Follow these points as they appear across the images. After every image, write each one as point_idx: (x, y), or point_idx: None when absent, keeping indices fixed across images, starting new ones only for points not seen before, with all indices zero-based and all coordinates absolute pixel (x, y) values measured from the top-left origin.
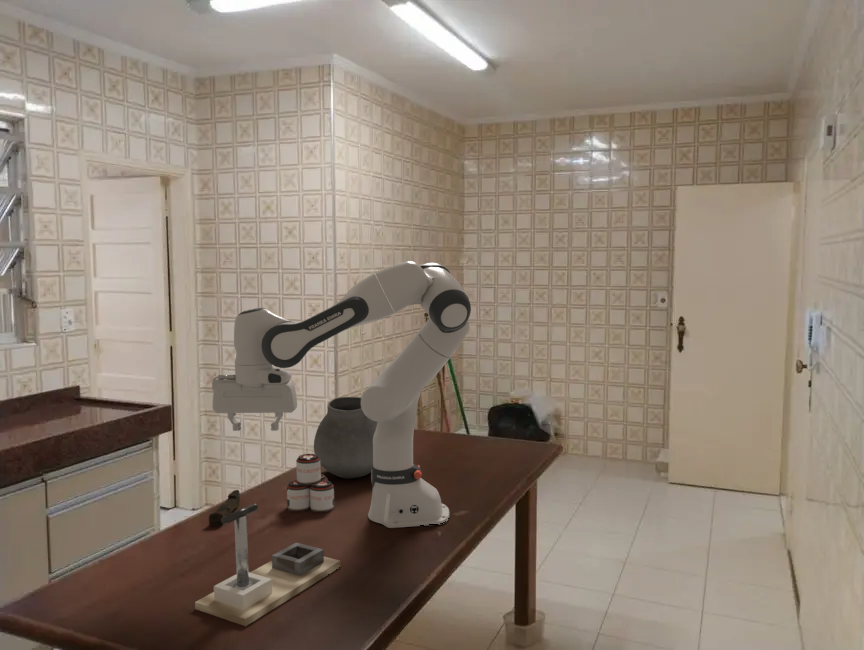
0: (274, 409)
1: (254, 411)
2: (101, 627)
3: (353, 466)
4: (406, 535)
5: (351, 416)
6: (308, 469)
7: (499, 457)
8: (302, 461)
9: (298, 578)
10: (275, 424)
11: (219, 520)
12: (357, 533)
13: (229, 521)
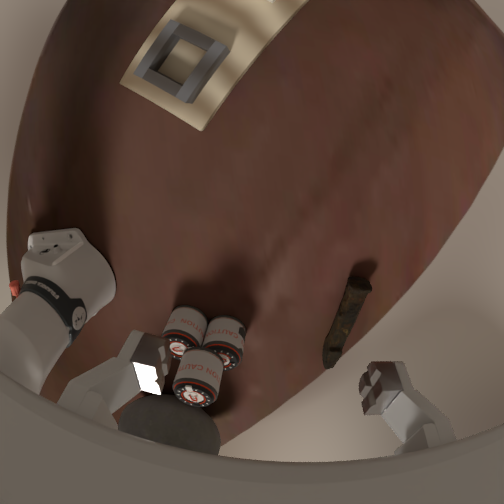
0: (66, 434)
1: (262, 470)
2: None
3: (158, 399)
4: (56, 201)
5: None
6: (192, 368)
7: (55, 389)
8: (201, 384)
9: (180, 18)
10: (126, 357)
11: (354, 281)
12: (115, 214)
13: None
